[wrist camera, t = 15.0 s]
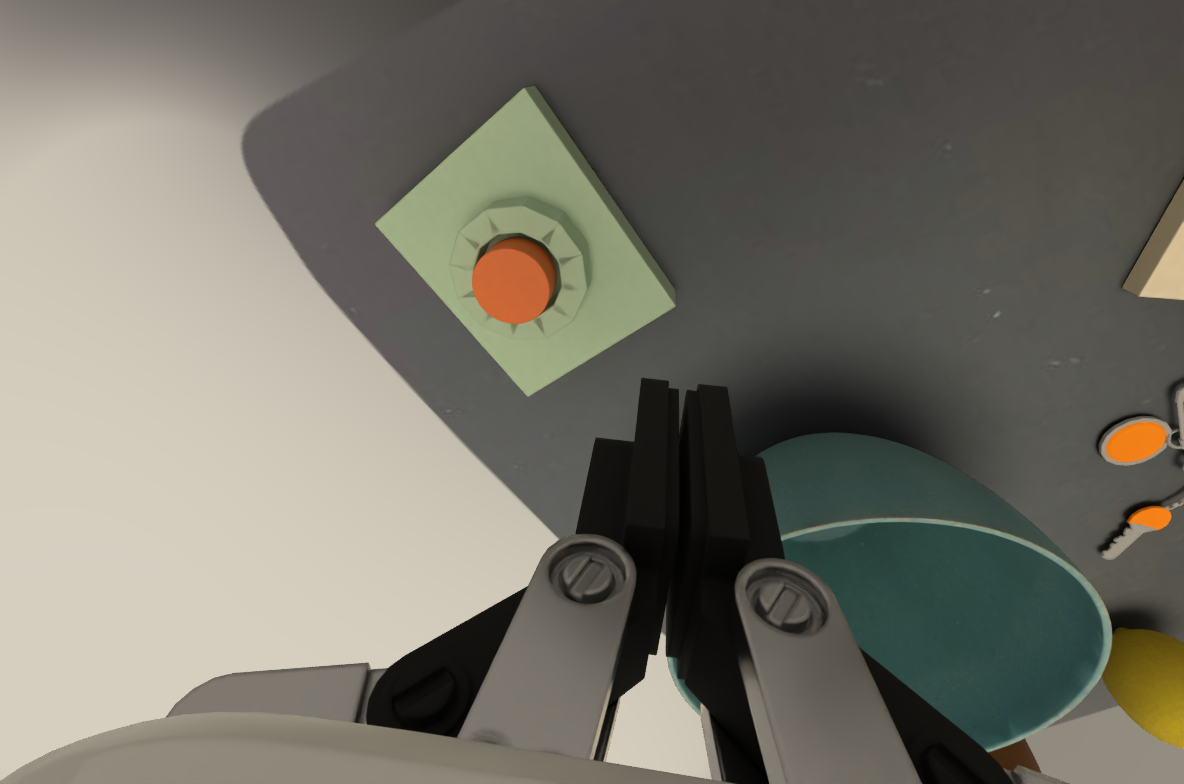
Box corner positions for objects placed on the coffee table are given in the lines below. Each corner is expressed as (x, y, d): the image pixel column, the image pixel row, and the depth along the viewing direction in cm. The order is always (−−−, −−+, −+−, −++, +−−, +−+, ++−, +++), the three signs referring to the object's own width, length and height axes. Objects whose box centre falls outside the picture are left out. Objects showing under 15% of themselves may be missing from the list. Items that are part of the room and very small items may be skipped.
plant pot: (794, 618, 42) (835, 804, 31) (611, 487, 37) (588, 654, 27) (1035, 488, 33) (1202, 686, 23) (836, 298, 29) (930, 435, 18)
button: (467, 265, 26) (455, 277, 25) (523, 221, 25) (514, 231, 23) (515, 322, 28) (507, 337, 26) (571, 284, 26) (565, 297, 25)
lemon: (1089, 662, 40) (1174, 785, 33) (1060, 621, 38) (1143, 741, 32) (1179, 637, 38) (1291, 763, 31) (1152, 592, 36) (1264, 715, 29)
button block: (392, 213, 29) (356, 234, 26) (534, 84, 25) (513, 89, 22) (535, 378, 33) (520, 414, 30) (676, 290, 29) (676, 321, 26)
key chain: (1101, 394, 29) (1112, 403, 29) (1276, 358, 27) (1293, 366, 27) (1090, 557, 35) (1098, 568, 34) (1234, 538, 33) (1247, 548, 32)
